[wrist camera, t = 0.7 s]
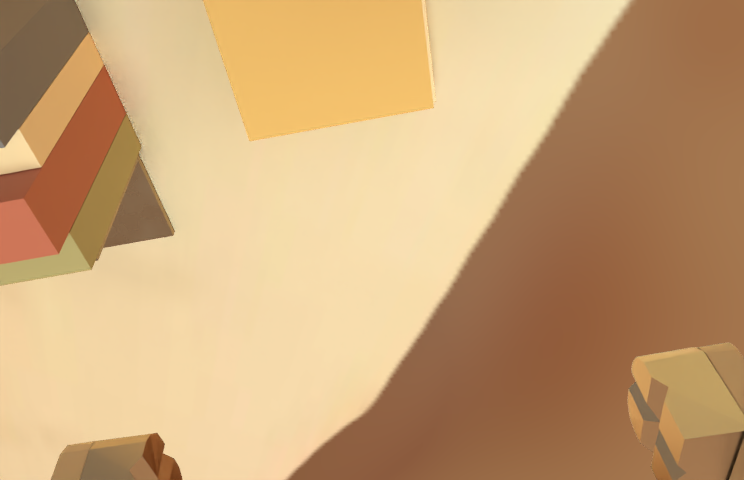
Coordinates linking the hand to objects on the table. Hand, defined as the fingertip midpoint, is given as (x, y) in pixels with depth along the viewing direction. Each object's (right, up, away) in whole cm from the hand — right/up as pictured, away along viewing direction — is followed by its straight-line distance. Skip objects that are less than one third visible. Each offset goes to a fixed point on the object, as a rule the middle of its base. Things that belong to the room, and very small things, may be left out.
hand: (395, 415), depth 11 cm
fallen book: (-4, +18, +36) cm, 41 cm away
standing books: (-26, +15, +37) cm, 47 cm away
